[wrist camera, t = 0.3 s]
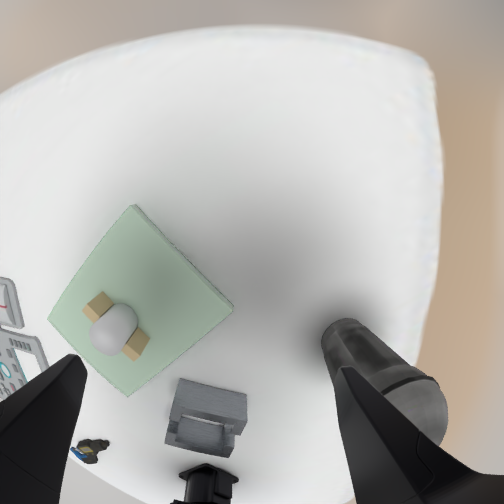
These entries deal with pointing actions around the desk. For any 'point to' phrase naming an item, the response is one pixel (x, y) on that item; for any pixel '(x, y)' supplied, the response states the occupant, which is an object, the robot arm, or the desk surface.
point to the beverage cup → (387, 375)
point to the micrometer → (89, 450)
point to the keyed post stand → (136, 304)
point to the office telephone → (14, 341)
